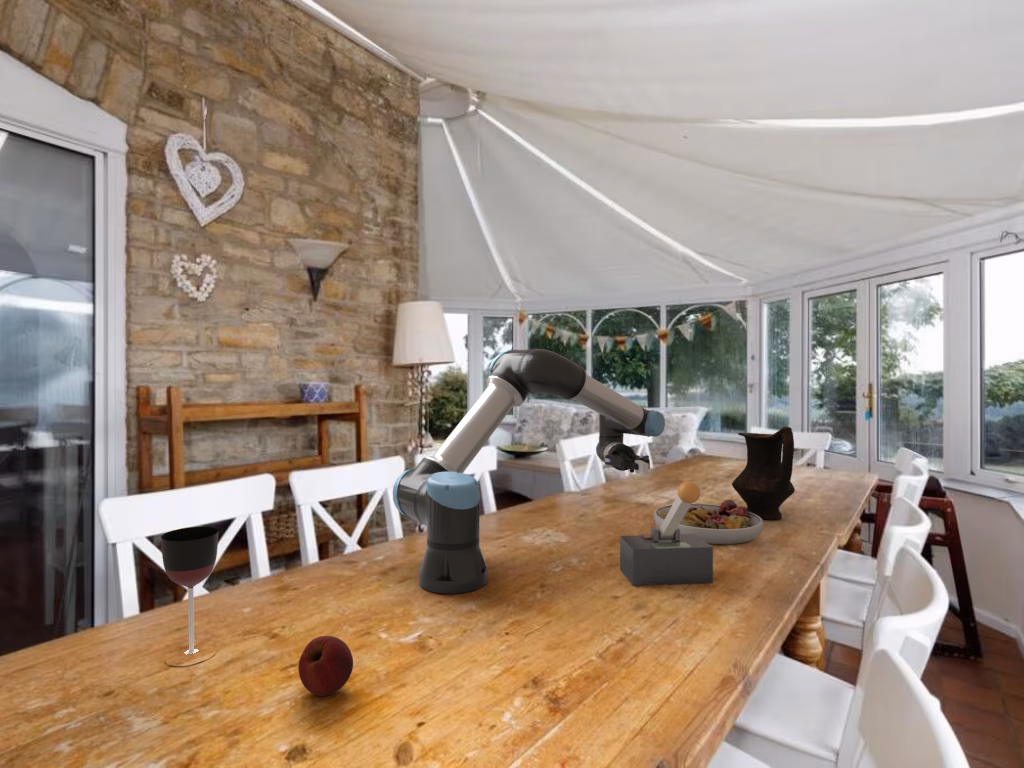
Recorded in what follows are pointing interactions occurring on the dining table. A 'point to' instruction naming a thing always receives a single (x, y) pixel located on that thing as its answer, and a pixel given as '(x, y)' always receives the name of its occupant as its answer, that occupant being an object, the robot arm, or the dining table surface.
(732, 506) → the bowl
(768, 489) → the jug
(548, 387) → the robot arm
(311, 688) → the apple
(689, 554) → the switch box
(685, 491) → the lever
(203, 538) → the wineglass
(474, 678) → the dining table surface
